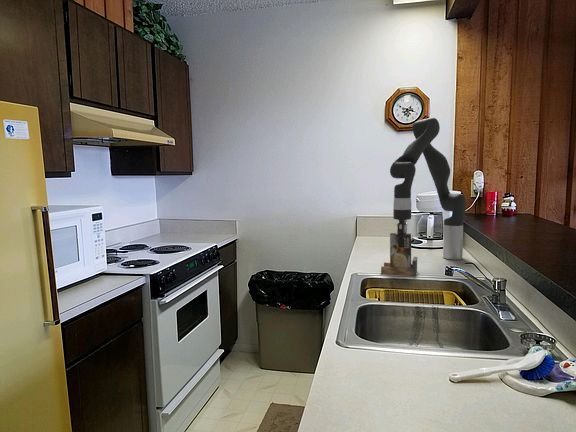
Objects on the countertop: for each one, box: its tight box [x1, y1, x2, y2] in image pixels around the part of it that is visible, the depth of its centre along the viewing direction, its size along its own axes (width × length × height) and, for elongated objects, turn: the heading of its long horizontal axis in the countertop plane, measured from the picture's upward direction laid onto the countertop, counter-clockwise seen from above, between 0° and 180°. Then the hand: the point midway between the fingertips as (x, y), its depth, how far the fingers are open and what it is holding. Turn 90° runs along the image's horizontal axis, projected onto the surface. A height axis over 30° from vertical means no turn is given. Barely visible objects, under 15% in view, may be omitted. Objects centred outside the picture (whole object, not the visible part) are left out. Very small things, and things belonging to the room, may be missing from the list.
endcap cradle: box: [380, 256, 418, 277], centre depth 178 cm, size 14×9×7 cm, turn 69°
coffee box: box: [389, 232, 412, 268], centre depth 177 cm, size 9×6×16 cm
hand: (401, 245), depth 177 cm, fingers closed on coffee box, 6 cm apart
